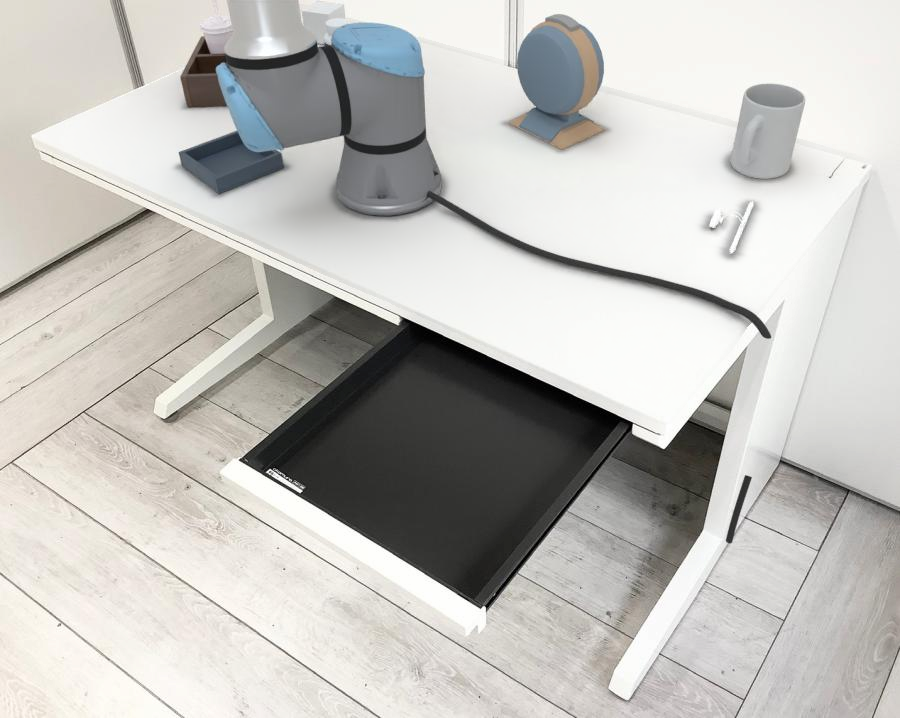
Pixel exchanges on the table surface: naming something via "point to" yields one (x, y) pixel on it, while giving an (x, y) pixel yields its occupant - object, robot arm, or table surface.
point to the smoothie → (216, 31)
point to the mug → (767, 130)
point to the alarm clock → (559, 80)
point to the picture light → (717, 219)
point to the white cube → (321, 17)
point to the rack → (202, 78)
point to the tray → (228, 162)
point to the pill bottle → (333, 28)
